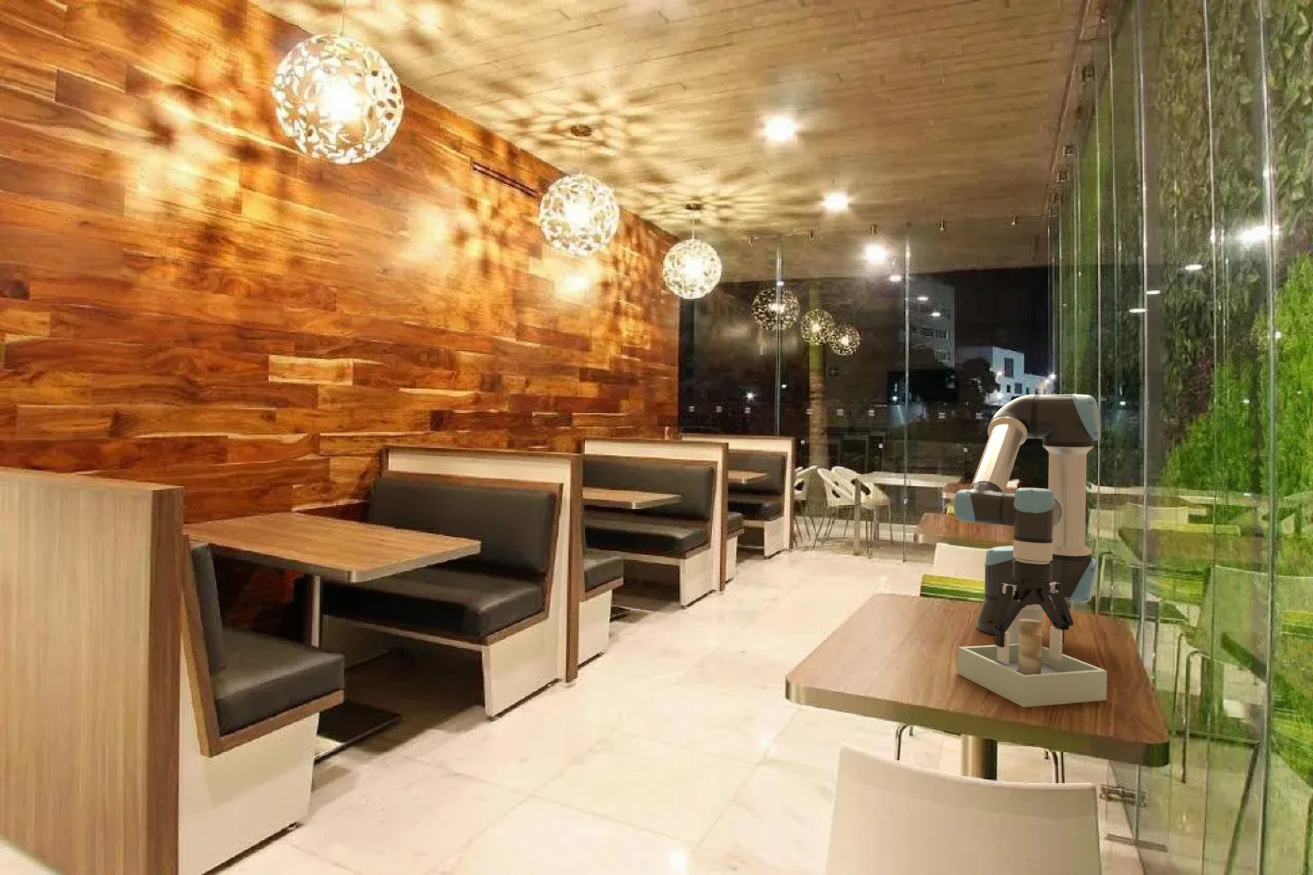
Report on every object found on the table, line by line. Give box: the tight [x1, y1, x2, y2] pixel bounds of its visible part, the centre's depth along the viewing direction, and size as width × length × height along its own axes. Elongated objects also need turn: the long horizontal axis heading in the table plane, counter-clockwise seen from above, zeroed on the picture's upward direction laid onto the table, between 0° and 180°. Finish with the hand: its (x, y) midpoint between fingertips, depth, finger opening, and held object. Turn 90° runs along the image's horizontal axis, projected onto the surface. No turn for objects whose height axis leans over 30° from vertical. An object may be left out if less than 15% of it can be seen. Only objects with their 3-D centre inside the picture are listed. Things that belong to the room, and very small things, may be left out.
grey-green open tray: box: [957, 644, 1108, 708], centre depth 157 cm, size 20×20×6 cm
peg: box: [1018, 619, 1043, 675], centre depth 156 cm, size 4×4×14 cm
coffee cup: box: [1006, 595, 1044, 644], centre depth 176 cm, size 10×10×15 cm
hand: (1029, 660), depth 156 cm, fingers open, 13 cm apart
